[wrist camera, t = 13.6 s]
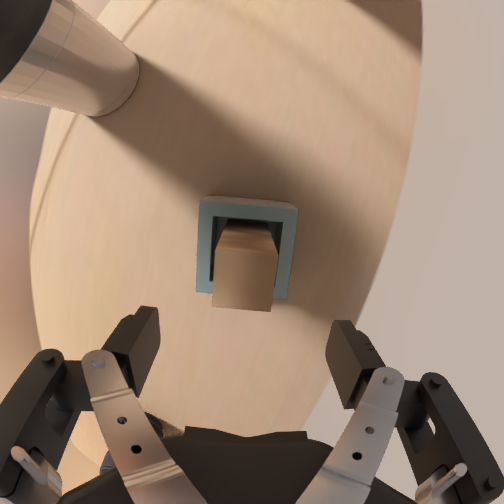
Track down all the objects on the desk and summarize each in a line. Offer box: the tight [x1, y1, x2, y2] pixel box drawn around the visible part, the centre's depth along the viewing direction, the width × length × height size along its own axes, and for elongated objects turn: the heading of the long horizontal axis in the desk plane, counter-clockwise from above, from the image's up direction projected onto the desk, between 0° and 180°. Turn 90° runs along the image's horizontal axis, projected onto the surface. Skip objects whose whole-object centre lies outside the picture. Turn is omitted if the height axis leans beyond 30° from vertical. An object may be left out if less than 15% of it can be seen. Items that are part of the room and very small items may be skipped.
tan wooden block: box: [212, 219, 278, 312], centre depth 23 cm, size 4×4×11 cm
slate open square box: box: [196, 195, 299, 300], centre depth 27 cm, size 8×8×6 cm
